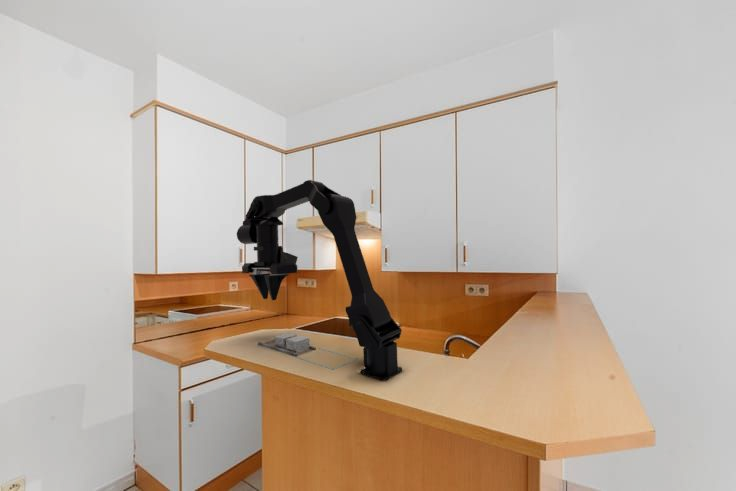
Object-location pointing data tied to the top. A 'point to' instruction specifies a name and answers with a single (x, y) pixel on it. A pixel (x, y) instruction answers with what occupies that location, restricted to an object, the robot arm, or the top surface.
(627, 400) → the top surface
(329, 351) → the tray
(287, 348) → the near chip
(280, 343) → the pale grey block
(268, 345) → the slot board
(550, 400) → the top surface
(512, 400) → the top surface
